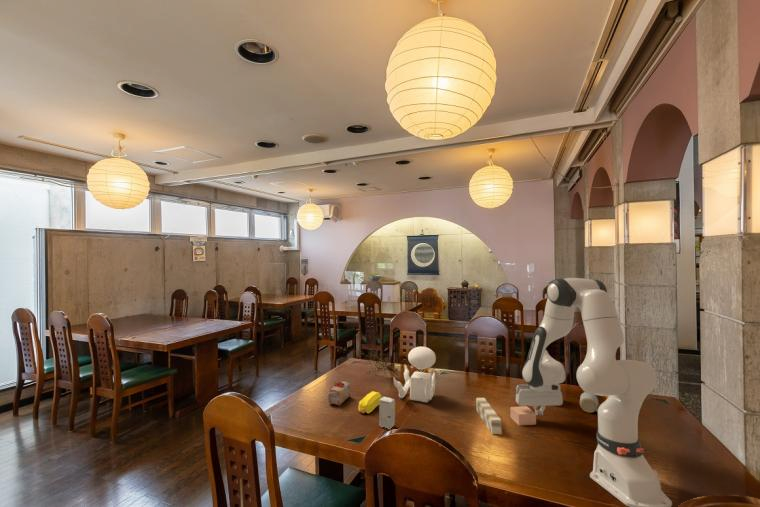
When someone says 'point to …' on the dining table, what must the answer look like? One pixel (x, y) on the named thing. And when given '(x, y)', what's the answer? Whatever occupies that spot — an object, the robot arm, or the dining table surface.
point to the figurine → (419, 376)
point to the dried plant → (377, 361)
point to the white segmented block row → (488, 416)
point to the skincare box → (386, 412)
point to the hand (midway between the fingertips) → (539, 414)
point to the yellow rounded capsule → (369, 402)
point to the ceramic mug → (589, 402)
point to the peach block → (523, 415)
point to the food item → (339, 393)
